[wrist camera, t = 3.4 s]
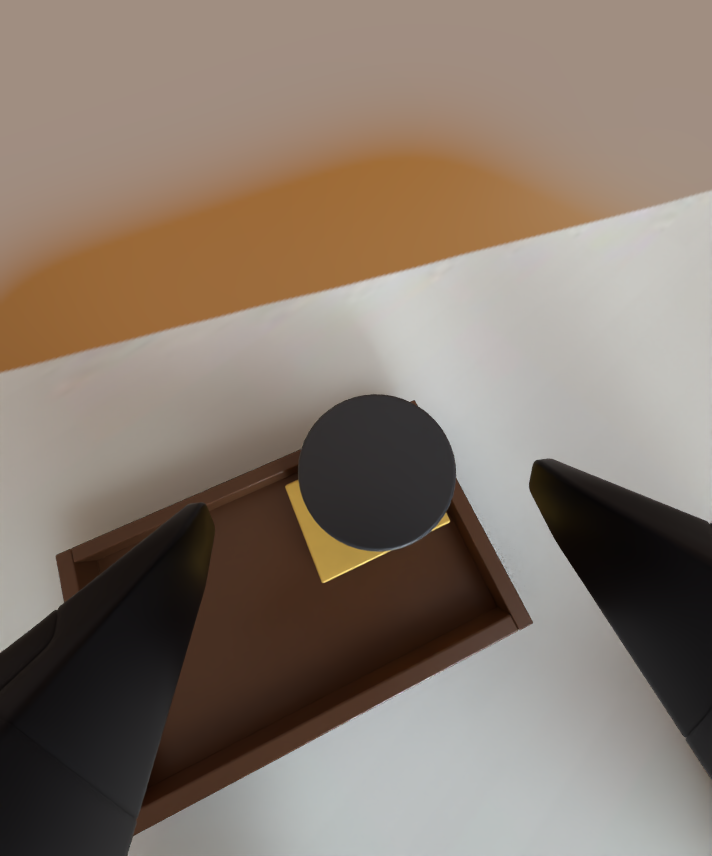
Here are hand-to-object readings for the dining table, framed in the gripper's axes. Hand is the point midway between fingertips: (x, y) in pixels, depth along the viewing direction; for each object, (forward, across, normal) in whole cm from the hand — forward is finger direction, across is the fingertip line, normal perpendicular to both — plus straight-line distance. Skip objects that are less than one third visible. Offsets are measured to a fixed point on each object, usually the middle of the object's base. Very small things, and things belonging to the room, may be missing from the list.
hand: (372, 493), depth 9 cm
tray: (+4, +4, +8) cm, 10 cm away
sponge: (+6, 0, +6) cm, 8 cm away
